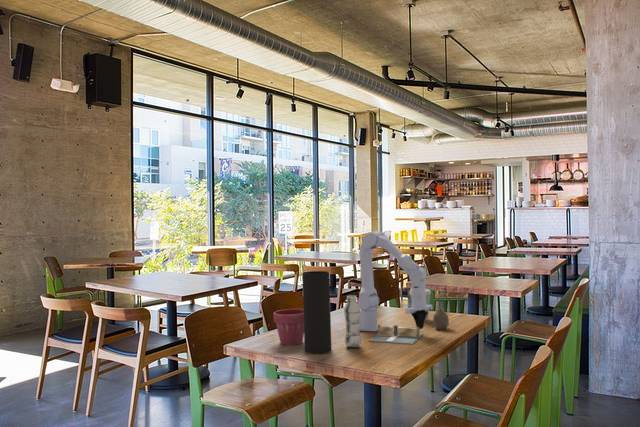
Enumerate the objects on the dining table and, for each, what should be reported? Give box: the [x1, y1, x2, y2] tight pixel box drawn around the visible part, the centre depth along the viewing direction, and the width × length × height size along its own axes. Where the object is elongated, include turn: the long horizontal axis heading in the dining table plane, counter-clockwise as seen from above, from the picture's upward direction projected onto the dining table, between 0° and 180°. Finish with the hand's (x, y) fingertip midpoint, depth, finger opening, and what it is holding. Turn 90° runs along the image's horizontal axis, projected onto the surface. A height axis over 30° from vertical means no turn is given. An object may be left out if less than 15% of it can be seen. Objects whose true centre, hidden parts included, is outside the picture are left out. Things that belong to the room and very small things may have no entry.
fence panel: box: [398, 326, 421, 338], centre depth 223 cm, size 9×1×4 cm, turn 66°
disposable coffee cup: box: [408, 287, 432, 322], centre depth 258 cm, size 11×11×15 cm
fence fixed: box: [377, 324, 399, 336], centre depth 227 cm, size 9×2×5 cm, turn 66°
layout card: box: [368, 330, 424, 345], centre depth 223 cm, size 18×19×1 cm
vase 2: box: [432, 308, 450, 331], centre depth 238 cm, size 7×7×9 cm
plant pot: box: [273, 308, 304, 346], centre depth 220 cm, size 14×14×13 cm
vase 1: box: [302, 270, 332, 355], centre depth 206 cm, size 10×10×30 cm
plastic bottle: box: [343, 294, 362, 349], centre depth 210 cm, size 6×7×20 cm
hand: (419, 328), depth 227 cm, fingers closed
